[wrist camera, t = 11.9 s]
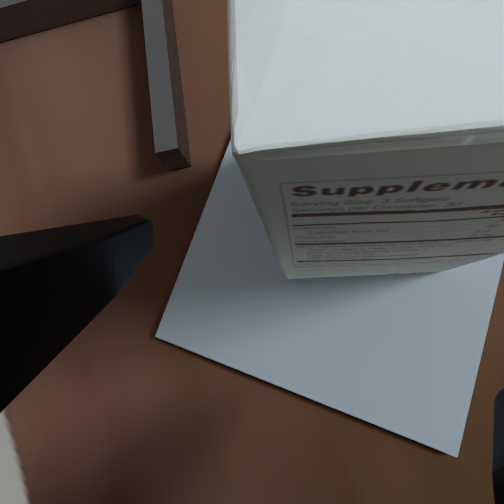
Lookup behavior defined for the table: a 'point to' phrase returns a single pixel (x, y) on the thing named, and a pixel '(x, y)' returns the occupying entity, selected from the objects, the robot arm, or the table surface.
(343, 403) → the mat
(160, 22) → the cradle
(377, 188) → the supplement box
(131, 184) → the table surface
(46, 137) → the table surface
